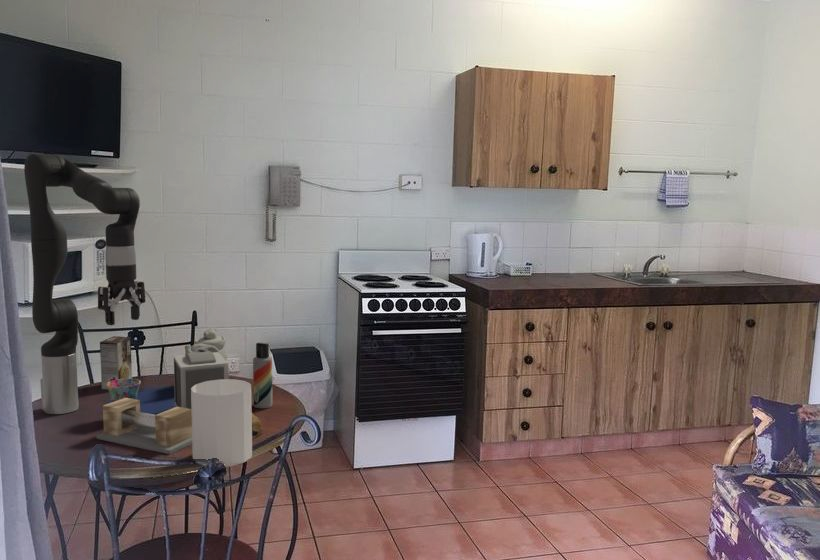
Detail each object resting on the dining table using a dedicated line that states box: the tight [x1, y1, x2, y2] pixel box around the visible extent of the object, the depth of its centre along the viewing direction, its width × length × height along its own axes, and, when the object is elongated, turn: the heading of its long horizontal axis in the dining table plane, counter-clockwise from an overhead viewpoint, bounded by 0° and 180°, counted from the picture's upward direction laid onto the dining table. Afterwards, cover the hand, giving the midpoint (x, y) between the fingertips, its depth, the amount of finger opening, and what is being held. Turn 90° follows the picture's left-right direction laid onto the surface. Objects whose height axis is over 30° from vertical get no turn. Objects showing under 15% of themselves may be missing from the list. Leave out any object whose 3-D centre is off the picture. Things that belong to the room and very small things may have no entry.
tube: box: [121, 410, 156, 431], centre depth 185 cm, size 16×5×5 cm, turn 66°
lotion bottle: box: [252, 342, 273, 409], centre depth 214 cm, size 6×6×20 cm
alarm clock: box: [173, 351, 230, 409], centre depth 206 cm, size 18×13×18 cm
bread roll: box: [251, 412, 263, 439], centre depth 190 cm, size 10×10×8 cm
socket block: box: [154, 406, 192, 447], centre depth 181 cm, size 5×8×8 cm, turn 156°
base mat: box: [96, 428, 192, 455], centre depth 185 cm, size 25×12×1 cm, turn 66°
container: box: [191, 378, 253, 468], centre depth 173 cm, size 14×14×18 cm
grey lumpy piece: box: [184, 327, 228, 362], centre depth 236 cm, size 16×15×19 cm
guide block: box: [102, 398, 141, 436], centre depth 188 cm, size 5×8×8 cm, turn 156°
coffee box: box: [99, 335, 133, 391], centre depth 232 cm, size 9×6×16 cm
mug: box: [106, 378, 142, 414], centre depth 202 cm, size 12×9×11 cm
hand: (123, 322), depth 188 cm, fingers open, 8 cm apart
